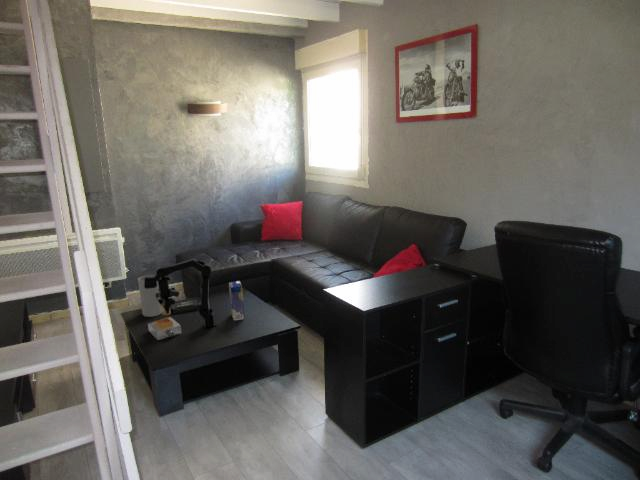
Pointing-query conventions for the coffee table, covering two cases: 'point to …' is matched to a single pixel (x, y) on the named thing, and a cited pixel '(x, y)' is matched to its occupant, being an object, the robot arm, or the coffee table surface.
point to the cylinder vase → (149, 299)
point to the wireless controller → (187, 305)
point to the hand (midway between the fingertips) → (166, 311)
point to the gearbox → (164, 328)
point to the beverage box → (236, 300)
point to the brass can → (165, 311)
